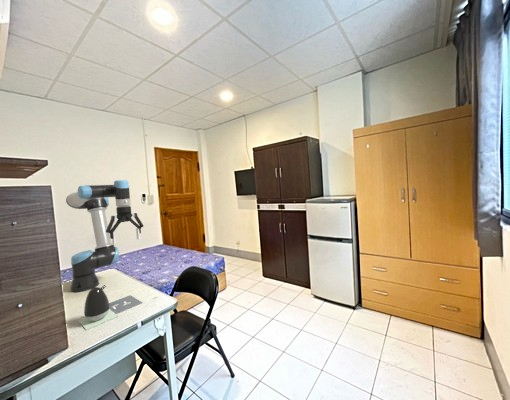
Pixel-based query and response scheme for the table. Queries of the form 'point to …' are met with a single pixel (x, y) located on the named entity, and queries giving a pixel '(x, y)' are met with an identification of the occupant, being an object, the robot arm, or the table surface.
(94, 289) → the pump dispenser
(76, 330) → the table surface
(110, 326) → the table surface
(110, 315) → the mat
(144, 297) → the table surface
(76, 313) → the table surface
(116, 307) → the tile
